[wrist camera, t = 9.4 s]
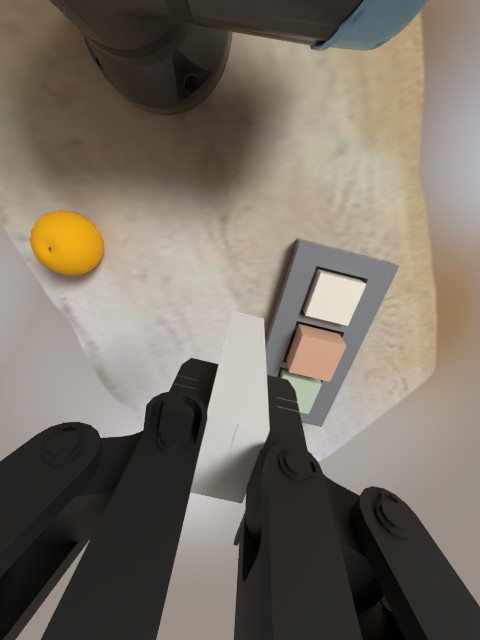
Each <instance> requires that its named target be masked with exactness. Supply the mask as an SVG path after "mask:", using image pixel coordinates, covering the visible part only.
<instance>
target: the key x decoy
mask: <svg viewBox="0 0 480 640" xmlns="http://www.w3.org/2000/svg"><path fill="white" fill-rule="evenodd" d="M346 346H347V345H346V344H345V342H344V341H343V339H342V337H341V336H340V334H338V333H334V332H330V331H326V330H321V329H317V328H313V327H309V326H305V325H301V324H299V325H298V328H297V331H296V334H295V336H294V339H293V342H292V345H291V348H290V350H289V353H288V356H287V365H288V370H289V372H290V373H295V374H299V375H303V376H307V377H312V378H316V379H320V380H324V381H329V382H330V381H331V379H332V376H333V374H334V372H335V370H336V368H337V365H338V363H339V361H340V359H341V357H342V355H343V352H344V350H345V348H346Z"/></svg>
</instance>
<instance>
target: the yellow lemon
mask: <svg viewBox="0 0 480 640" xmlns="http://www.w3.org/2000/svg"><path fill="white" fill-rule="evenodd" d="M30 241H31V246H32V250H33V252H34V254H35V256H36V257H37V258H38V260H39V261H40V262H41V263H42V264H43V265H45V266H46V267H47V268H49V269H50V270H53V271H55V272H57V273H60V274H65V275H79V274H84V273H87V272H89V271H90V270H92V269H93V268H95V267H96V266H97V265H98V263H99V262H100V260H101V258H102V256H103V252H104V245H103V239H102V236H101V234H100V232H99V230H98V229H97V227H96V226H95V225H94V224H93V223H92V222H91V221H90V220H88V219H87V218H86V217H84V216H82V215H79V214H77V213H75V212H69V211H61V210H59V211H54V212H50V213H46V214H44V215H43V216H42V217H41V218H39V219H38V220H37V221H36V223H35V224H34V226H33V228H32V230H31V237H30Z"/></svg>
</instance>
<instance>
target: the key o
mask: <svg viewBox="0 0 480 640" xmlns="http://www.w3.org/2000/svg"><path fill="white" fill-rule="evenodd" d="M277 377H279V378H283V379H287V380H288V381H289V382H290V383H291V385H292V386H293V388H294V389H295V391H296V396H297V403H298V406H299V412H301V413H306V414H309V412H310V410H311V408H312V406H313V403H314V401H315V399H316V397H317V394H318V392H319V390H320V388H321V385H322V383H321V380H320V379H316V378H312V377H307V376H303V375H299V374H295V373H290V372H289V370H288V369H286V368H281V367H280V370H279V373H278V376H277Z"/></svg>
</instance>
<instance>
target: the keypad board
mask: <svg viewBox="0 0 480 640" xmlns="http://www.w3.org/2000/svg"><path fill="white" fill-rule="evenodd" d="M316 266H318V267H322V268H326V269H330V270H334V271H338V272H342V273H346V274H350V275H354V276H358V277H360V280H361V281H363V282H364V283H365V284H366V286H365V289H364V291H363V293H362V295H361V298H360V300H359V302H358V304H357V307H356V309H355V311H354V313H353V316H352V318H351V320H350V322H349V325H348V326H346V325H342V324H338V323H334V322H330V321H325V320H321V319H317V318H313V317H309V316H305V314H304V311H303V310H302V309H301V308H302V305H303V303H304V300H305V297H306V294H307V291H308V289H309V286H310V283H311V280H312V277H313V275H314V272H315V269H316ZM398 267H399V266H398V265H396V264H393V263H391V262H388V261H384V260H380V259H376V258H372V257H368V256H364V255H360V254H356V253H353V252H349V251H345V250H341V249H337V248H333V247H329V246H325V245H321V244H317V243H313V242H310V241H306V240H302V239H297V242H296V245H295V248H294V252H293V255H292V258H291V261H290V264H289V268H288V271H287V274H286V277H285V280H284V284H283V287H282V290H281V293H280V296H279V300H278V303H277V306H276V309H275V312H274V316H273V319H272V322H271V325H270V328H269V331H268V335H267V338H266V341H265V350H266V369H267V375H270V376H274V377H277V376H278V373H279V370H280V367H281V368H286V369H288V365H287V356H288V355H286V354H285V353H286V350H287V348H288V345H289V342H290V339H291V336H292V334H293V331H294V328H295V325H296V322H297V321H299V322H303V323H308V324H312V325H316V326H320V327H324V328H328V329H332V330H336V331H337V332H336V333H338V334H340V336H341V337H342V339H343V341H344V342H345V344H346V345H347V346H346V348H345V350H344V352H343V355H342V357H341V359H340V361H339V363H338V365H337V368H336V370H335V372H334V374H333V376H332V379H331V381H330V382H329V381H324V380H321V383H322V385H321V388H320V390H319V392H318V394H317V397H316V399H315V401H314V403H313V406H312V408H311V410H310V412H309V414H306V413H301V412H299V413H300V416H301V421H302V423H307V424H311V425H315V426H320V427H322V425H323V423H324V421H325V418H326V416H327V414H328V412H329V410H330V408H331V406H332V404H333V402H334V400H335V398H336V396H337V394H338V392H339V390H340V387H341V385H342V383H343V381H344V379H345V377H346V375H347V373H348V371H349V369H350V367H351V365H352V363H353V361H354V358H355V356H356V354H357V352H358V350H359V348H360V346H361V344H362V342H363V340H364V338H365V336H366V334H367V332H368V330H369V327H370V325H371V323H372V321H373V319H374V317H375V315H376V313H377V311H378V309H379V307H380V305H381V303H382V301H383V298H384V296H385V294H386V292H387V290H388V288H389V286H390V284H391V282H392V280H393V278H394V276H395V274H396V272H397V270H398Z"/></svg>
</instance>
